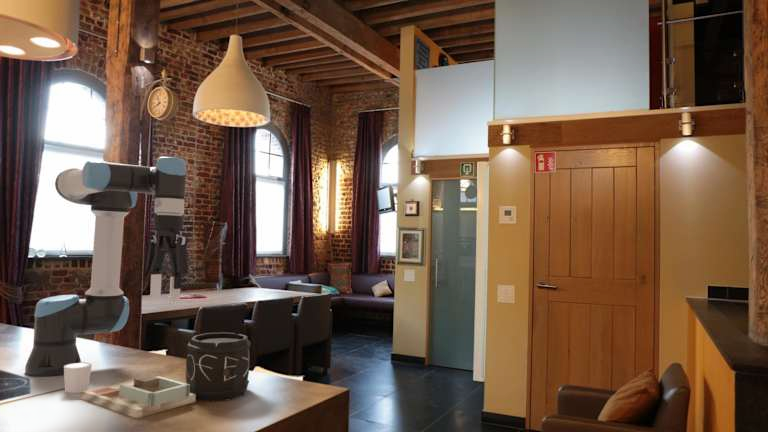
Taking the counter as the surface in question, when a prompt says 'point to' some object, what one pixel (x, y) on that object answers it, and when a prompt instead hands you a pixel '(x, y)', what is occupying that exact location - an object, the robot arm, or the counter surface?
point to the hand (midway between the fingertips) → (164, 299)
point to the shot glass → (77, 377)
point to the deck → (129, 401)
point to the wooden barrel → (218, 365)
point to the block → (147, 383)
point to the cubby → (167, 392)
